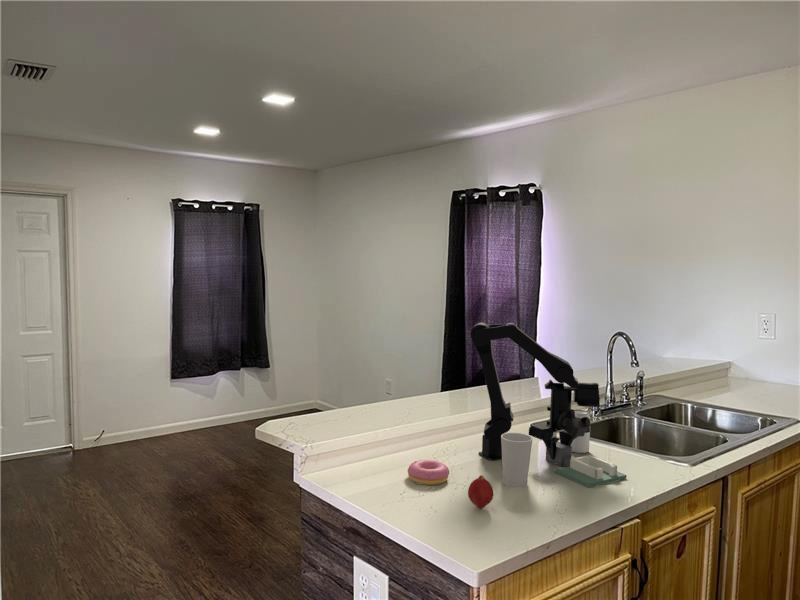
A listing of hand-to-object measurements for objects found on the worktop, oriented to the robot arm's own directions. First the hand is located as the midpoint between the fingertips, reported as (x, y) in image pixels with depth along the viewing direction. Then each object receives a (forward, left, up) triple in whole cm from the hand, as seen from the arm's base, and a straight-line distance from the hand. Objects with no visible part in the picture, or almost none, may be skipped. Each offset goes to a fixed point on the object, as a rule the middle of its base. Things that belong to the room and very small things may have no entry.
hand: (558, 458), depth 170 cm
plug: (0, 0, -1) cm, 1 cm away
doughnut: (-41, +5, -1) cm, 41 cm away
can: (+13, +5, -1) cm, 14 cm away
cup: (-22, -7, -1) cm, 23 cm away
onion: (-40, -16, -1) cm, 43 cm away
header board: (0, -12, -1) cm, 12 cm away
